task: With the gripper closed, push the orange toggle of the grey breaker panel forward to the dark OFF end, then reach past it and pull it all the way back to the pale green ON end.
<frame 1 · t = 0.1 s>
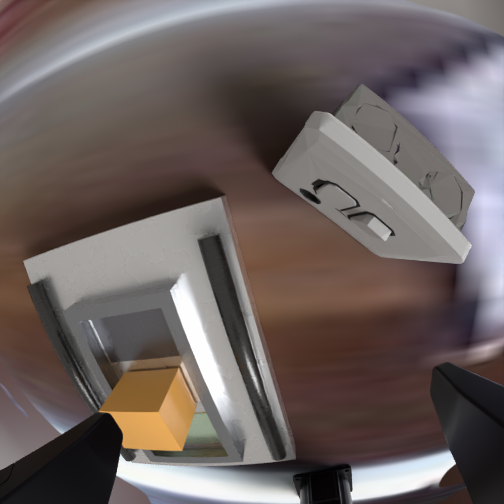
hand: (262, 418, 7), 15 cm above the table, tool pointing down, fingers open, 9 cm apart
toggle: (150, 409, 20), point 5 cm above the table, slide at 5.0 cm
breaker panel: (163, 365, 24), on the table
electrical switch: (346, 181, 20), on the table
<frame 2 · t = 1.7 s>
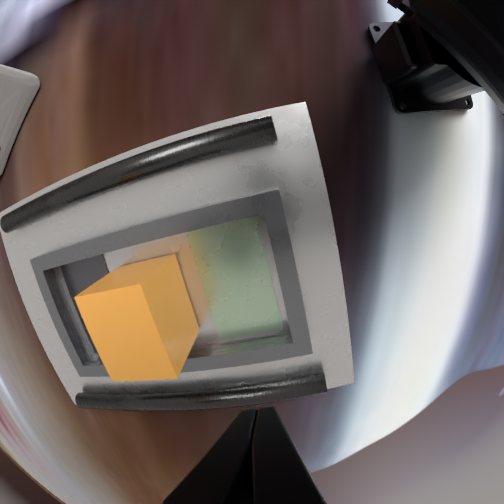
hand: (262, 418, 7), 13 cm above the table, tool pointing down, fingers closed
toggle: (142, 316, 16), point 5 cm above the table, slide at 5.0 cm
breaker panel: (156, 288, 20), on the table
electrical switch: (7, 121, 18), on the table
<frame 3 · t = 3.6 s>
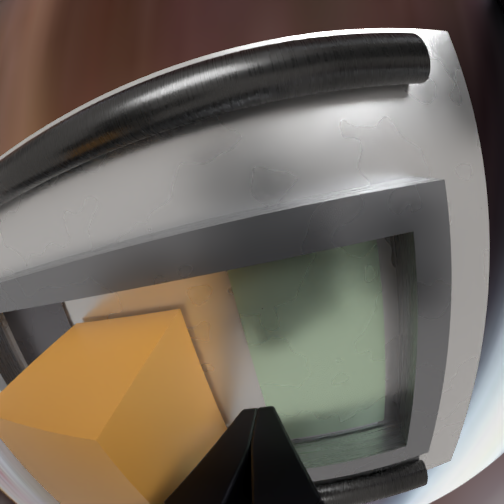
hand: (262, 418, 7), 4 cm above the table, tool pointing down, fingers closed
toggle: (122, 433, 7), point 5 cm above the table, slide at 5.6 cm, touching gripper
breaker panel: (160, 349, 11), on the table
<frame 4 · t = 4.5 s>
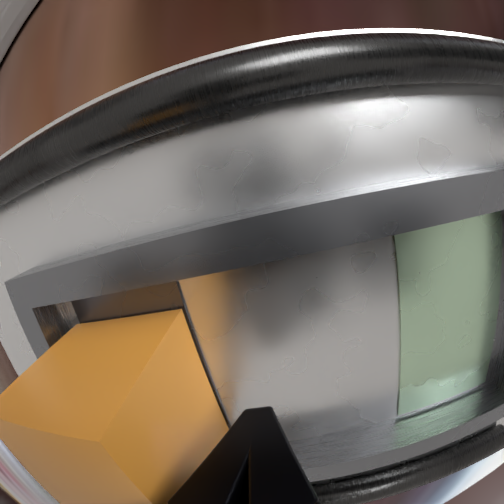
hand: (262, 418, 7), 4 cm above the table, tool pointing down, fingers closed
toggle: (124, 434, 7), point 5 cm above the table, slide at 10.1 cm, touching gripper
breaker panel: (273, 334, 11), on the table
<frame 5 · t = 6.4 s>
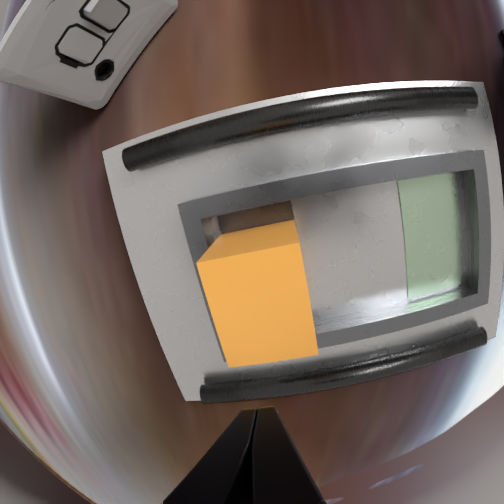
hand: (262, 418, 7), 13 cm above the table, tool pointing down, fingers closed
toggle: (264, 288, 15), point 5 cm above the table, slide at 10.0 cm
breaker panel: (332, 246, 18), on the table
electrical switch: (115, 46, 16), on the table
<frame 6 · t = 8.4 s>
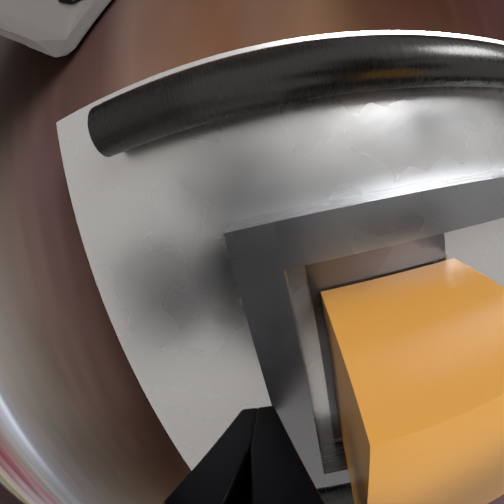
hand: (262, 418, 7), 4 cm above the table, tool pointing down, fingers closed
toggle: (427, 405, 6), point 5 cm above the table, slide at 9.7 cm, touching gripper
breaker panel: (462, 293, 10), on the table
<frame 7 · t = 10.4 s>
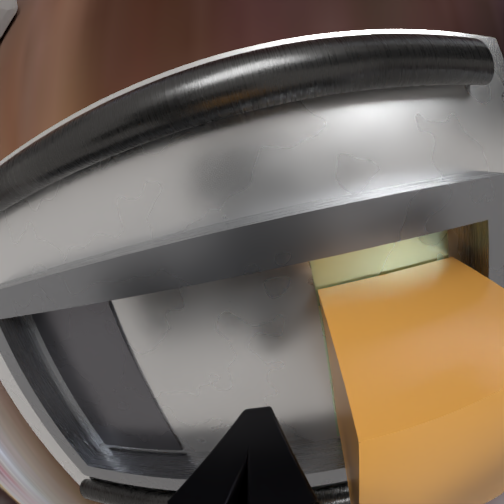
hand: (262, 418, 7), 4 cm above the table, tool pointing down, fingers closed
toggle: (423, 404, 6), point 5 cm above the table, slide at -0.1 cm, touching gripper
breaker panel: (212, 349, 11), on the table
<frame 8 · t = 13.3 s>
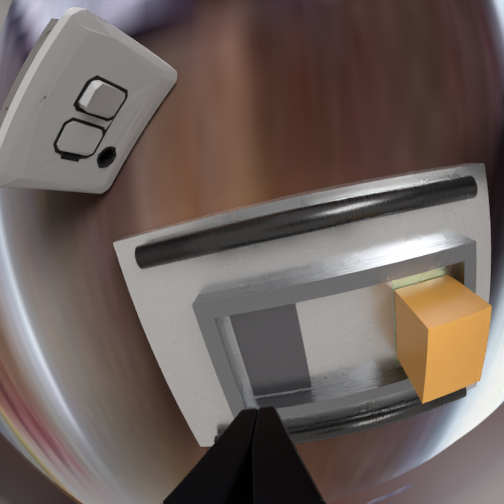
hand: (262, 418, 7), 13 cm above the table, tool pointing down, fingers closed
toggle: (439, 335, 15), point 5 cm above the table, slide at 0.0 cm
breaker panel: (330, 323, 20), on the table
electrical switch: (113, 119, 18), on the table
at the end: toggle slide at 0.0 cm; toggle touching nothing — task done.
